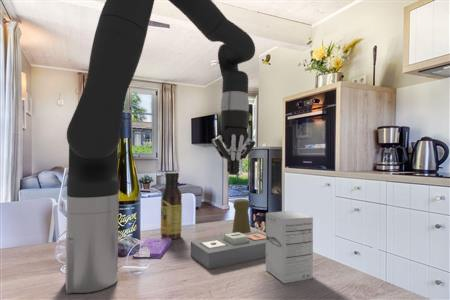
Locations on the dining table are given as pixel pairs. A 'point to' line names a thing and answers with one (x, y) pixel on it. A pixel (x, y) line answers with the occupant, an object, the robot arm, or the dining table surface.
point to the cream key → (213, 244)
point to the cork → (241, 216)
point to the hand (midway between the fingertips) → (233, 174)
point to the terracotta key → (256, 237)
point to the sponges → (156, 246)
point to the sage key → (235, 238)
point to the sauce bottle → (171, 207)
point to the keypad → (228, 252)
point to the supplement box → (289, 246)
